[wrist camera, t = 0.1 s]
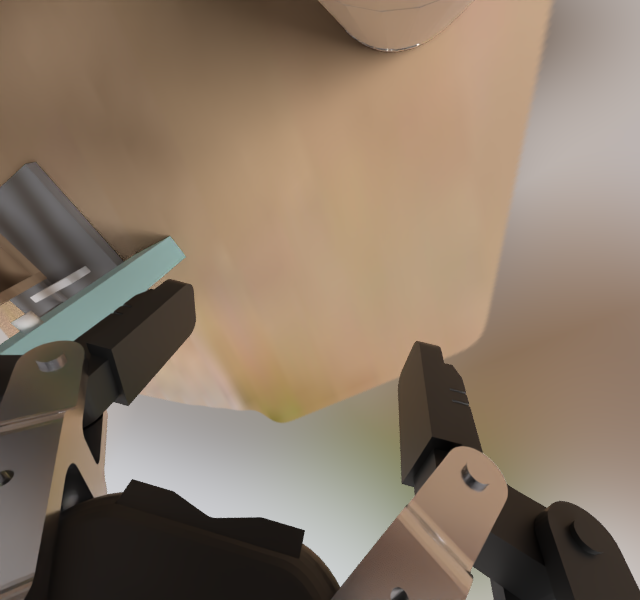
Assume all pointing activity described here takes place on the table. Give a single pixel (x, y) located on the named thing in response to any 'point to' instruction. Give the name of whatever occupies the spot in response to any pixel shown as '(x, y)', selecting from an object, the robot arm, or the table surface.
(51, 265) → the cabinet
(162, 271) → the teal rectangular block
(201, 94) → the table surface
